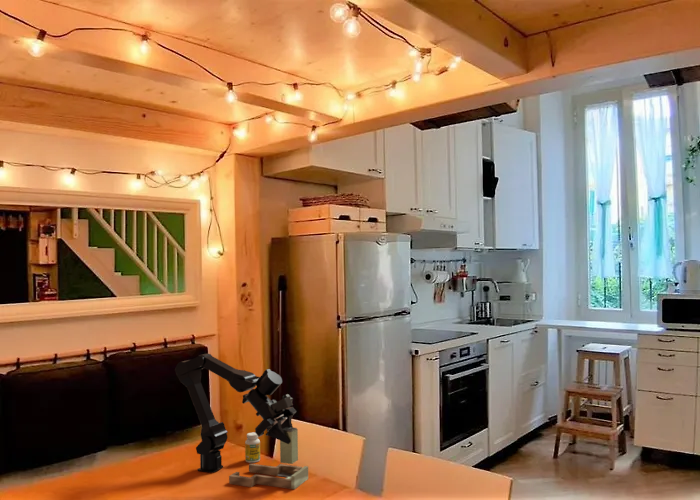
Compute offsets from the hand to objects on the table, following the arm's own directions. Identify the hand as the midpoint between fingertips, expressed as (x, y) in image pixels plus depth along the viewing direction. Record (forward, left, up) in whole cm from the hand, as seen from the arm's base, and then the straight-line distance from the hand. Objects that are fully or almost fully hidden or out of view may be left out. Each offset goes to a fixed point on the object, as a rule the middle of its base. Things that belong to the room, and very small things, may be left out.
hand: (292, 441), depth 188 cm
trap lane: (-8, 0, -13) cm, 15 cm away
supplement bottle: (-24, +15, -14) cm, 31 cm away
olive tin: (-1, 0, -7) cm, 7 cm away
